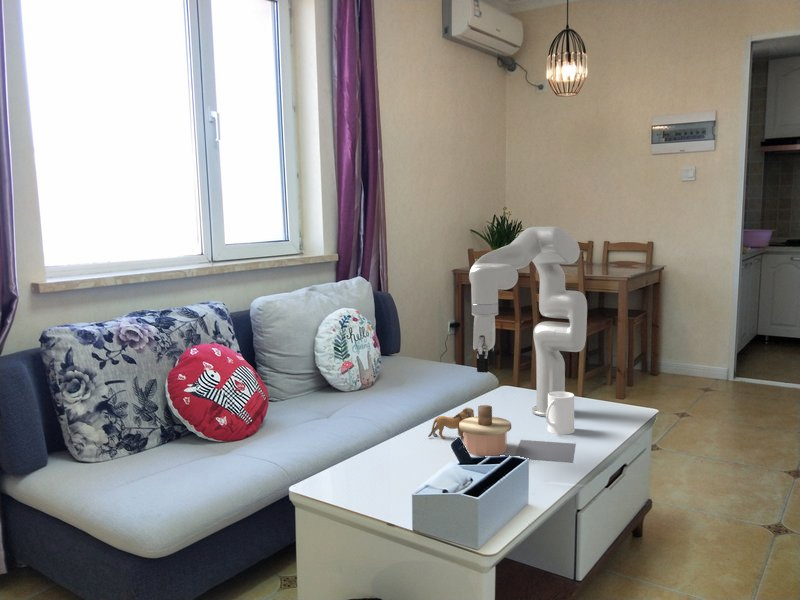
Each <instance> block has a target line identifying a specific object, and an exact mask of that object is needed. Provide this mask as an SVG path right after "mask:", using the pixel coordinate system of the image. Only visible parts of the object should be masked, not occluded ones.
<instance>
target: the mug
mask: <svg viewBox="0 0 800 600" xmlns="http://www.w3.org/2000/svg"><path fill="white" fill-rule="evenodd" d="M545 419H546V422H547V431H548V432H549V433H551V434H556V435H570V434H573V433H575V432H576V431H575V393H573V392H568V391H565V392H562V391H557V392H550V393H548V408H547V411H546V417H545Z"/></svg>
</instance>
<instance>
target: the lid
mask: <svg viewBox="0 0 800 600" xmlns="http://www.w3.org/2000/svg"><path fill="white" fill-rule="evenodd" d="M459 428H460V429H461V430H462V431H464V432H466V433H470V434H475V435H497V434H502V433H506V432H507V433H508V432H509V431H511V430H512V422H511V421H510V420H508V419H506V418H502V417H499V416H498V417H497V416H493V407H492V406H491V405H488V404H482V405H481V404H480V405H478V406H477V416H474V417H470V418H466V419H464V420H462V421H460V423H459Z"/></svg>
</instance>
